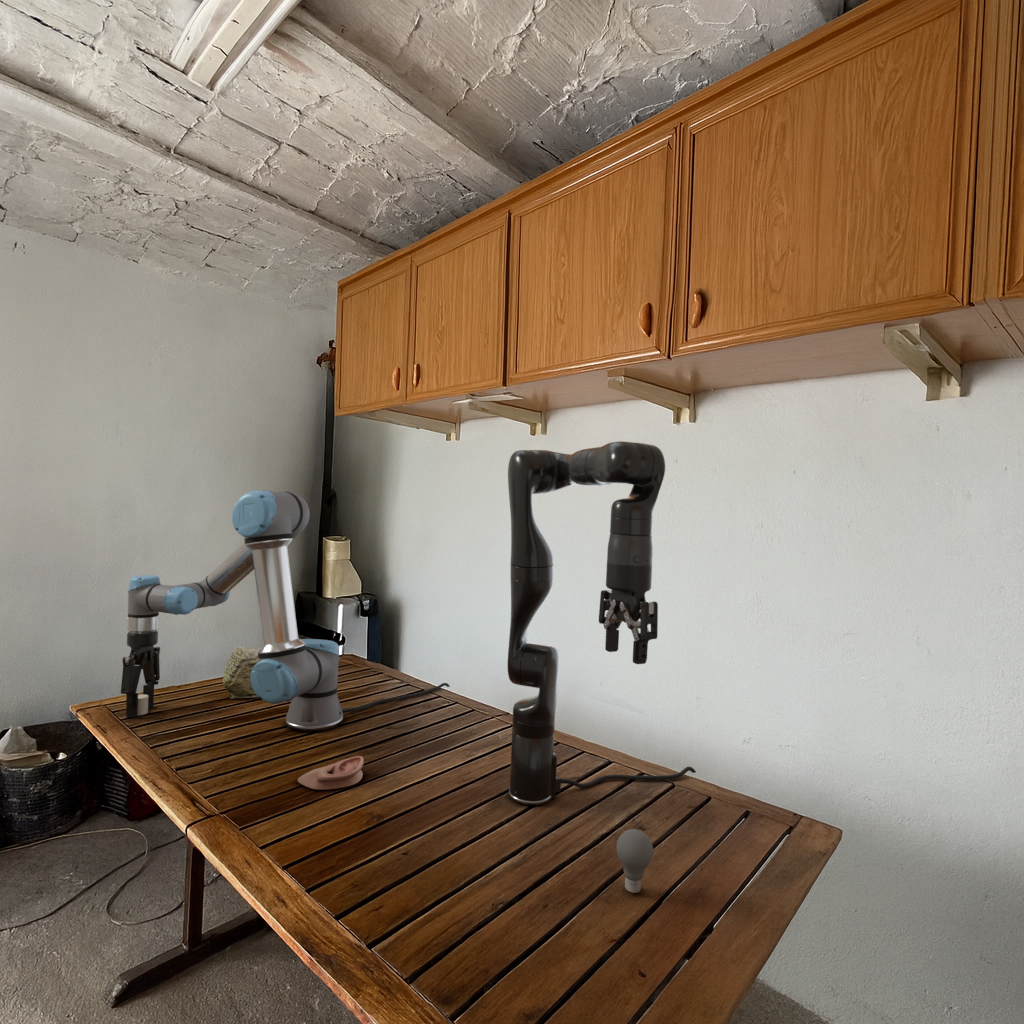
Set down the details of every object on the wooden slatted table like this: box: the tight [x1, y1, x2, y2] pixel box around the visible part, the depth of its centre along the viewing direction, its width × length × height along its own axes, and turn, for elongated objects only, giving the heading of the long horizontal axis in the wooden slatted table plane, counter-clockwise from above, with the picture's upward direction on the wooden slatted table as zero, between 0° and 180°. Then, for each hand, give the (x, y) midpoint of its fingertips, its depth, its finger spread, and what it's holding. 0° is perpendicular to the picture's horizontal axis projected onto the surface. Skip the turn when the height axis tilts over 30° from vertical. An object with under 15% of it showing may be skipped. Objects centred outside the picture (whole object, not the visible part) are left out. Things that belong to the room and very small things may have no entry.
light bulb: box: [615, 828, 654, 894], centre depth 106 cm, size 6×6×10 cm
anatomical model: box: [297, 755, 364, 791], centre depth 142 cm, size 13×4×12 cm
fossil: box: [222, 646, 260, 699], centre depth 198 cm, size 9×18×15 cm, turn 132°
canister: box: [137, 693, 149, 716], centre depth 178 cm, size 4×4×5 cm
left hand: (140, 712), depth 178 cm, fingers open, 7 cm apart
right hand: (624, 657), depth 107 cm, fingers open, 8 cm apart
